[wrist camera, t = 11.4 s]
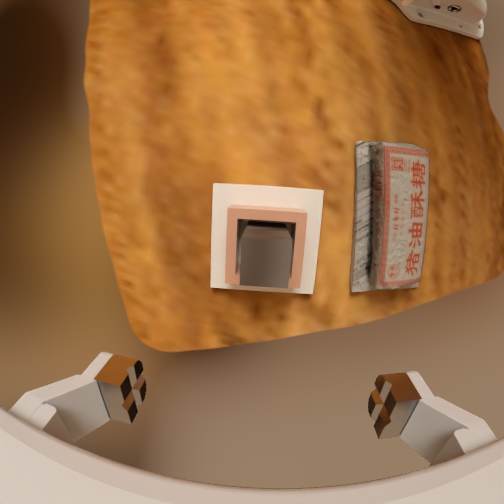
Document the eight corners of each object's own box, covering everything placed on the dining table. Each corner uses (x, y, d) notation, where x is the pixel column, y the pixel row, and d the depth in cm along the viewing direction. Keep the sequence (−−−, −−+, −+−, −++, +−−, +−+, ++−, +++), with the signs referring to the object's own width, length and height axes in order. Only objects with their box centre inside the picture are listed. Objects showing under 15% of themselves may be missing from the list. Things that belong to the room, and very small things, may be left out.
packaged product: (365, 135, 25) (442, 146, 25) (351, 140, 30) (422, 148, 30) (358, 304, 30) (431, 298, 29) (347, 288, 34) (414, 285, 34)
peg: (285, 223, 31) (292, 240, 22) (282, 258, 32) (287, 288, 23) (248, 221, 31) (241, 237, 23) (246, 256, 32) (239, 285, 24)
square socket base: (321, 190, 31) (331, 192, 26) (311, 290, 34) (318, 308, 29) (215, 183, 32) (205, 183, 27) (212, 283, 35) (203, 301, 30)
